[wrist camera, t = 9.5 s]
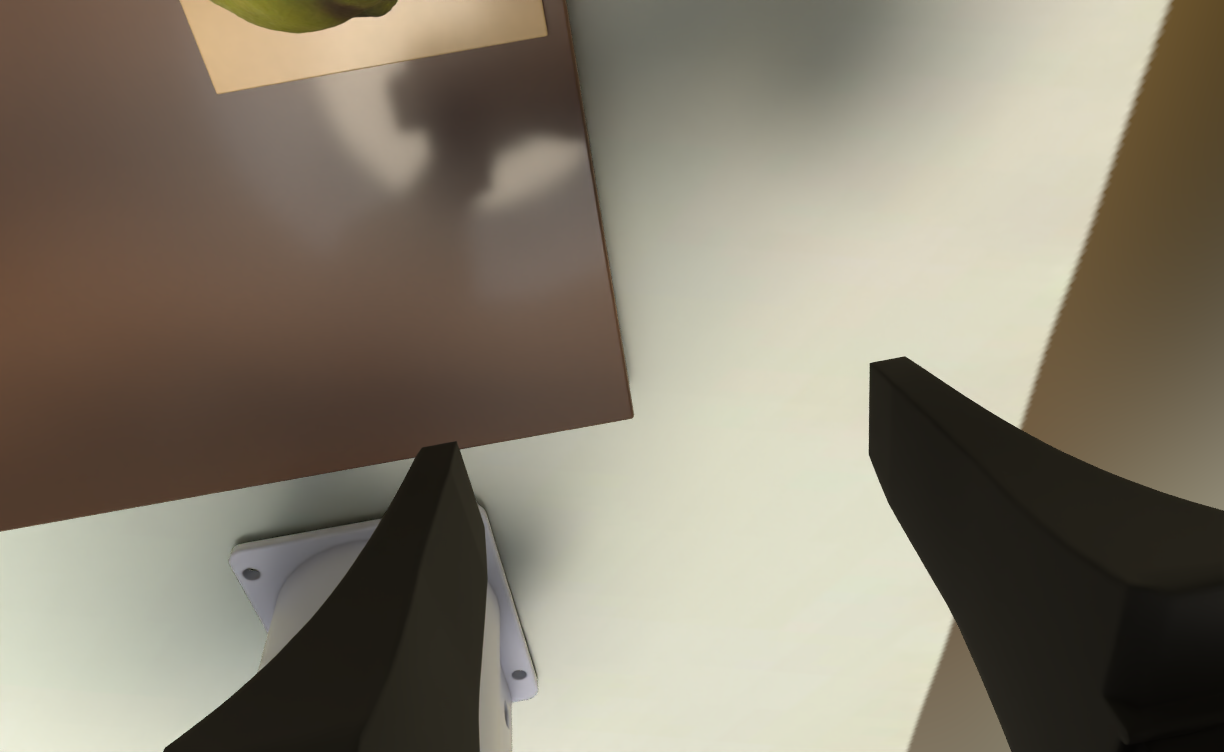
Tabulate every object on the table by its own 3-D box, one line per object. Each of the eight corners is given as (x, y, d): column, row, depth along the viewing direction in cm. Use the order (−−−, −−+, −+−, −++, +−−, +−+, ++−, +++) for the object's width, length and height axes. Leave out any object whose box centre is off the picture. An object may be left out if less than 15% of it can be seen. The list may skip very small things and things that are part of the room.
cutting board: (628, 388, 26) (636, 425, 25) (17, 498, 26) (-12, 541, 25) (494, -428, 16) (493, -449, 14) (-511, -252, 16) (-615, -254, 14)
